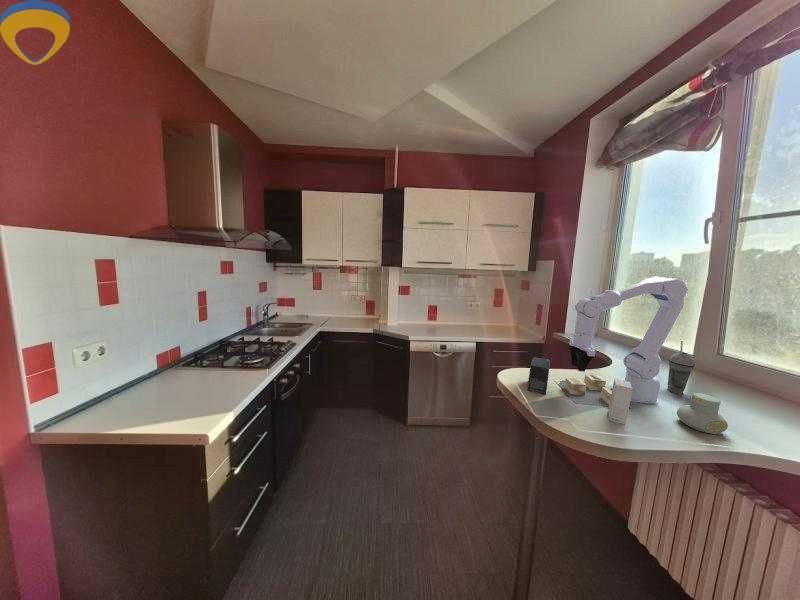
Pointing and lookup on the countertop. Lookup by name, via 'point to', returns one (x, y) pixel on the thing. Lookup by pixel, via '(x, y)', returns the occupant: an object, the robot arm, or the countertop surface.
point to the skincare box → (620, 401)
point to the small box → (538, 375)
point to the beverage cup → (679, 371)
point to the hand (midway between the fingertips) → (578, 368)
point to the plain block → (575, 386)
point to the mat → (585, 396)
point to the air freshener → (703, 414)
